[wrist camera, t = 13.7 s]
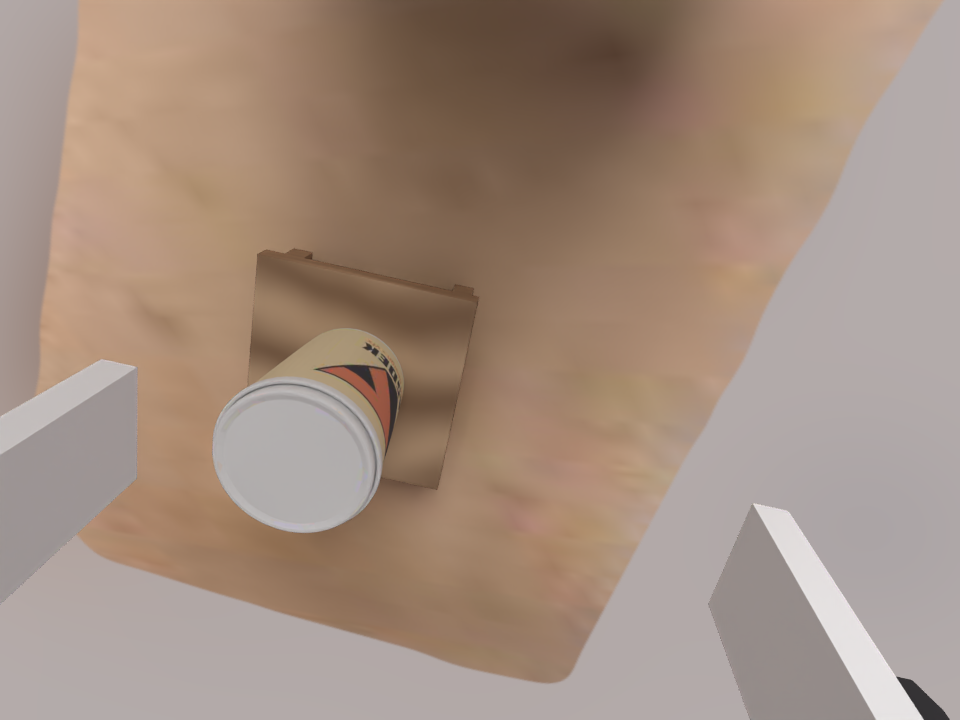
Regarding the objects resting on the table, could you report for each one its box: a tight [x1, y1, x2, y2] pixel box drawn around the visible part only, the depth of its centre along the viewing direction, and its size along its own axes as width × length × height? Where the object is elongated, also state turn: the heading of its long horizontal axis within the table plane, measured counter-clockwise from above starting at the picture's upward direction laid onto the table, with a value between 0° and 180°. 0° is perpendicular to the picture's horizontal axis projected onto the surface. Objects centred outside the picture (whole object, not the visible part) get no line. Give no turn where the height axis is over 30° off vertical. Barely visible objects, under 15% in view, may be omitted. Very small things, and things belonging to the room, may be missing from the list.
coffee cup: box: [212, 328, 404, 533], centre depth 39 cm, size 9×9×12 cm
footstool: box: [247, 249, 479, 490], centre depth 48 cm, size 15×15×6 cm
